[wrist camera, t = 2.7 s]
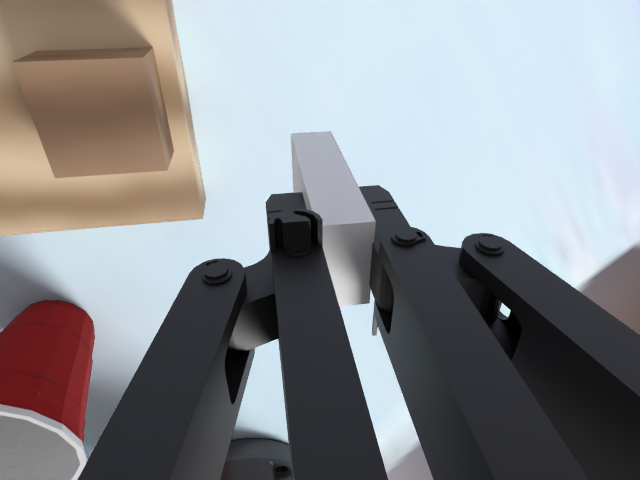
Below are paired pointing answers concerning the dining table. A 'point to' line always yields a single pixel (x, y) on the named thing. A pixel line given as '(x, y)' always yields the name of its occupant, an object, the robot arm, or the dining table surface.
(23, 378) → the plastic cup
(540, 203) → the dining table surface
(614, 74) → the dining table surface
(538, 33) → the dining table surface
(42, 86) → the brown square block
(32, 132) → the board
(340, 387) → the robot arm
